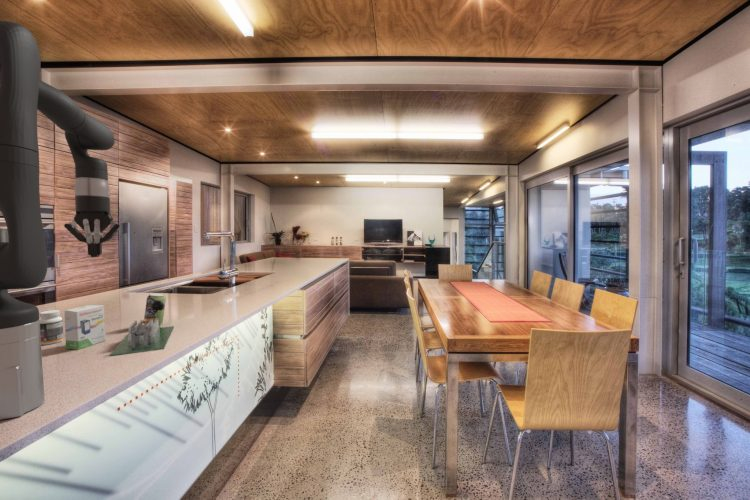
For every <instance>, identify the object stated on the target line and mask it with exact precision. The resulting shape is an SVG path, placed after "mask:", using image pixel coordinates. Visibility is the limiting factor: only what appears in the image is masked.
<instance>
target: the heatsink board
mask: <svg viewBox="0 0 750 500" xmlns="http://www.w3.org/2000/svg"><path fill="white" fill-rule="evenodd" d="M146 318H156V313H153V314H147V315H146ZM142 321H143V319H140V320H139V321H137V320H134V321H133V322H132V323H131V324H130V325H129V326H128V327H127V328H128V334H127V335H126V336H125V337H124V338H123V339H122V340H121V342H120V343H119V344H117V346H116V347H115V348H114V350H113V351H112V352H111V353H110V356H111V357H112V356H119V355H126V354H134V353H135V354H136V353H141V352H142V353H144V352H150V351H158V350H164V349H165V348H166V347H167V346H166V345H167V343H168V340H169V339H170V336H171V334H172V333H173V331H174V328H175V326H174V325H172V326H162V327H161V325H159V322H158V318H157V319H156V320H155V321H154V322H153V319H151V320H150V321H149V323H148V324H147V325H146V330H144V331H143V335H142V336H135V333H137V332H138V331H139V330H140V329H141V327H142V326H143V325H144V324H142Z"/></svg>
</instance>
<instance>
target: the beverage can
mask: <svg viewBox="0 0 750 500" xmlns="http://www.w3.org/2000/svg"><path fill="white" fill-rule="evenodd" d="M166 300H167V298H166V296H165V293H159V292H156V293H155V292H153V293H149V294H148V296H147V297H146V301H145V302H146V303H145V309H144V316H143V317H144V318H143V320H144V319H147V318H146V315H147V314H153V313H156V318H158V322H159V326H161V325H162V324H163V322H164V315H165V310H166V309H165V307H166V302H167V301H166Z"/></svg>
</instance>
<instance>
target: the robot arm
mask: <svg viewBox="0 0 750 500" xmlns="http://www.w3.org/2000/svg"><path fill="white" fill-rule="evenodd" d="M41 61H42V60H41V54H40V49H39V46H38V43H37V41H36V39H35V37H34V35H33V34H32V33H31V31H29V29H28V28H27V27H26V26H23V24H20V23H18V22H13V21H8V20H1V19H0V213H1V214H2V216H3V219H4V221H5V225H6V229H7V238H8V241H7V242H6V241H5V242H3V241H2V242H0V420H6V419H11V418H18V417H21V416H23V415H25V413H29V412H30V411H33V410H34V409H36V408H39V407H40V406H42V405H43V404H44V402H45V399H46V398H45V383H44V371H43V357H42V356H43V355H42V353H43V352H42V345H41V337H40V310H39V308H38V306H37V305H35V304H33V303H32V304H31V303H28V302H24V301H21V300H18V299H16V298H15V297H13V295H10V293H9V291H8V290H24V289H25V290H27V289H35V288H36V287H38V286H40V285H41V284H42V283H43V282H44V280H45V279H46V276H47V273H48V261H49V260H48V254H47V253H48V252H47V245H46V239H45V233H44V226H43V220H42V212H41V211H42V210H41V199H40V198H41V195H40V152H39V143H38V142H39V141H38V111H39V112H40V113H41V114H42V115H44V116H45V117H46V118H47V119H49V120H50V121H51V122H52V123H53V124H54V125H55V126H57V128H59V129H61V130H62V131H64V137H65V140H66V143H67V146H68V148H69V151H70V153H71V157H72V159H73V163H74V170H75V171H74V172H75V173H74V175H75V181H74V200H75V202H74V204H75V206H74V207H75V215H74V217H73V220H72V221H70V222H69V223H65V224H64V225H63V227H64V228H65V229H66V230H67V231H68V232H69V233H70V234H72V236H73V237H74V238H75V239H77V240H78V241H79V242H83V243H85V244H86V245H87V254H88V255H89V256H90V258H99V257H100V256H101V255H102V254H103V246H102V245H103V243H105V242H109V241H110V240H111V239H113V237H114V236H115V235H116V234H117V233H118V232H119V231H120V230H121V229H122V226H123V225H121V224H120V223H117V222H116V221H114V219H113V217H112V215H111V200H110V199H111V198H110V197H111V193H110V187H109V186H110V185H109V172H108V164H107V162H106V160H104V159H101V158H97V157H93V156H91V155H90V154H89V152H88V150H89V151H90V150H91V151H108V150H111V149H112V148H113V147H114V146H115V142H116V141H115V134H113V131H112V130H111V128H109V127H108V126H107V125H106V124H105V123H103V122H102V121H101V120H99V119H97V118H95V117H94V116H92V115H91V114H88V113H86V112H85V111H84V110H83V109H82V108H81V106H79V105H78V104H77V103H76V102H75V100H73V99H72V98H71V97H70V96H68V95H67V94H66V93H65V92H63V91H61V90H60V89H58V88H57V87H54V86H53V85H50V84H49V83H47V82H45V81H42V80H41V65H42V64H41ZM108 227H109V230H108V231H107V232H106V233H105V235H104V232H105V231H106V229H107V228H108ZM78 228H81V229H82V231H84V234H83V233H82V232H81V231H80V230H79V229H78Z"/></svg>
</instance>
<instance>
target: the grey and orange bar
mask: <svg viewBox="0 0 750 500" xmlns="http://www.w3.org/2000/svg"><path fill="white" fill-rule="evenodd" d="M151 319H153V322H154V321H155V320H156V319H157V318H147V319H144V318H143V319H142V325H143V326H142V327H141V329H140V330H139V331H138V332H137V333H135V336H142V335H143V331H144V330H146V325H147V324H148V323H149V321H150V320H151Z"/></svg>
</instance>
